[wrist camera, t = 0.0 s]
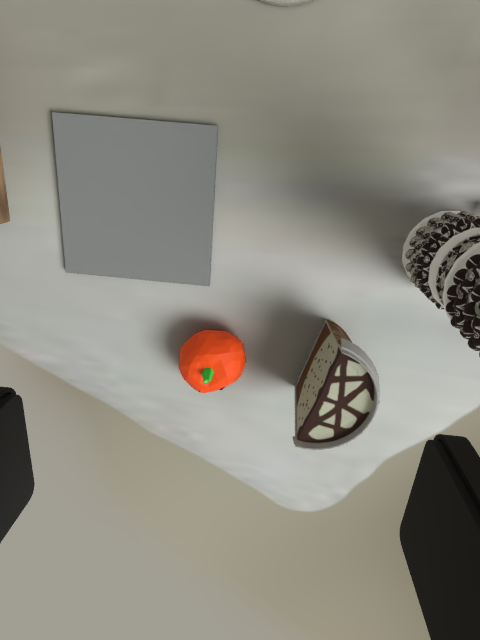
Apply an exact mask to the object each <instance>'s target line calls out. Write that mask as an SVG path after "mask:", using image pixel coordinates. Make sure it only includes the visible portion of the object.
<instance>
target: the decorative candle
mask: <svg viewBox="0 0 480 640" xmlns="http://www.w3.org/2000/svg"><path fill="white" fill-rule="evenodd" d="M402 263H403V266H404V269H405V272H406V274H407V276H408V277H409V278H410V281H411V282H413V283H415V286H416V287H417V288H419V289H420V290H421V292H422V293H424V294H425V296H426V297H427V298H428V299H430V300H431V301H432V302H433V303H435V304H436V306H437V308H439V309H446V312H447V315H448V317H449V318H450V319H451V325H452V326H453V327H455V328H459V329H460V334H461V335H462V336H463V337H464V338H465V339H469V341H468V345H469V347H470V348H471V349H473V350H475V351H480V217H478V216H475V215H473V214H469V213H467V212H464V211H463V212H461V211H458V210H454V211H440V212H437V213H435V214H433V215H431V216H428V217H426V218H424V219H423V220H422V221H421V222H419V223H418V224H417V225H416V226H415V227H414V228H413V229H412V230H411V231H410V233H409V235H408V237H407V239H406V241H405V243H404V245H403V253H402ZM479 356H480V353H479Z"/></svg>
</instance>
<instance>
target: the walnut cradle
mask: <svg viewBox="0 0 480 640" xmlns="http://www.w3.org/2000/svg"><path fill="white" fill-rule="evenodd" d="M8 221H10V217H9V209H8V202H7V194H6V187H5V179H4V172H3V164H2V157H1V149H0V224H2V223H5V222H8Z"/></svg>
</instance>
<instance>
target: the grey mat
mask: <svg viewBox="0 0 480 640" xmlns="http://www.w3.org/2000/svg"><path fill="white" fill-rule="evenodd" d="M52 120H53V131H54V143H55V154H56V166H57V177H58V189H59V200H60V212H61V223H62V235H63V246H64V258H65V269H66V272H68V273H78V274H88V275H98V276H109V277H119V278H129V279H140V280H150V281H160V282H171V283H181V284H191V285H202V286H209V285H210V272H211V253H212V233H213V213H214V194H215V174H216V154H217V134H218V126H215V125H203V124H191V123H178V122H166V121H154V120H142V119H129V118H117V117H105V116H93V115H81V114H68V113H56V112H52Z"/></svg>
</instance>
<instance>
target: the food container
mask: <svg viewBox="0 0 480 640" xmlns="http://www.w3.org/2000/svg"><path fill="white" fill-rule="evenodd" d="M379 395H380V386H379V377H378V374H377V371H376V368H375V366H374V364H373V362H372V360H371V359H370V358H369V357H368V355H367V354H366V353H365V352H364V351H363V350H362V349H360V348H359V347H358V346H357V345H355V344H353V343H352V341H351V340H350V338H349V337H348V335H347V334H346V332H345V331H344V330H343V329H342V328H341V327H340V326H338V325H337V324H335V323H334V322H332V321H330V320H327V319H325V321H324V323H323V326H322V328H321V330H320V332H319V334H318V336H317V339H316V341H315V343H314V345H313V347H312V350H311V352H310V354H309V356H308V358H307V360H306V363H305V365H304V367H303V369H302V371H301V374H300V376H299V378H298V380H297V382H296V384H295V437H294V436H293V441H294V444H295V447H299V448H303V449H311V450H323V449H330V448H334V447H338V446H341V445H343V444H346V443H348V442H350V441H351V440H353V439H355V438H356V437H357V436H359V435H360V434H361V433H362V432H363V431H364V430H365V429H366V428H367V427H368V425H369V424H370V423H371V421H372V419H373V417H374V415H375V413H376V410H377V407H378V404H379Z"/></svg>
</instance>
